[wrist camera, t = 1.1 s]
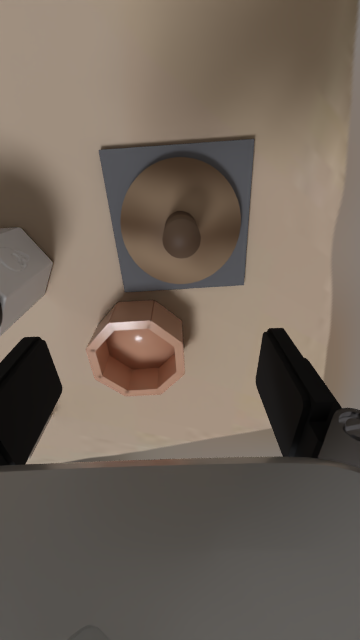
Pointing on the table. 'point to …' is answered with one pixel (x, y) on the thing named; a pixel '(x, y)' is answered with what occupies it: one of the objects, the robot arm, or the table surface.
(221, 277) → the mat
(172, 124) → the table surface
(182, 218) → the lid
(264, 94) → the table surface
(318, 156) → the table surface
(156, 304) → the bowl
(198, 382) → the table surface
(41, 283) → the jar
